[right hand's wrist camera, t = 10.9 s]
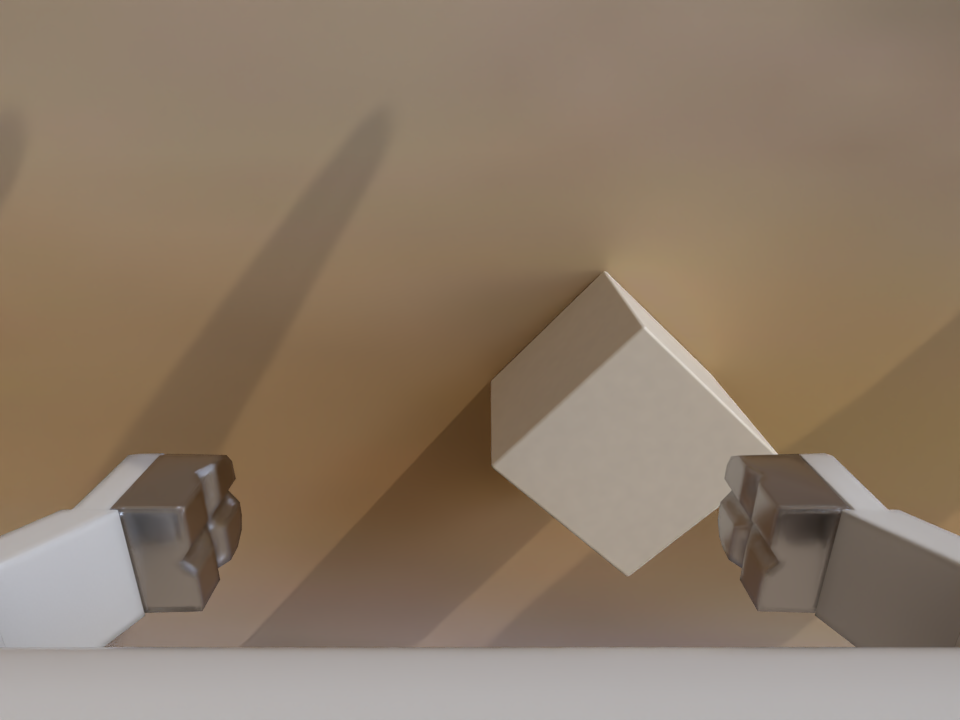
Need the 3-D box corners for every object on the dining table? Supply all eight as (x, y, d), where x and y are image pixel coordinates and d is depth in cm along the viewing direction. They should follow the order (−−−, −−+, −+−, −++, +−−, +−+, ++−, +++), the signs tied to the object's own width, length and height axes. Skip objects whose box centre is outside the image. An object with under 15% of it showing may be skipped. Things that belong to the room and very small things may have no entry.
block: (711, 374, 18) (782, 459, 13) (596, 472, 19) (627, 578, 15) (604, 269, 17) (644, 325, 12) (489, 381, 18) (490, 467, 14)
